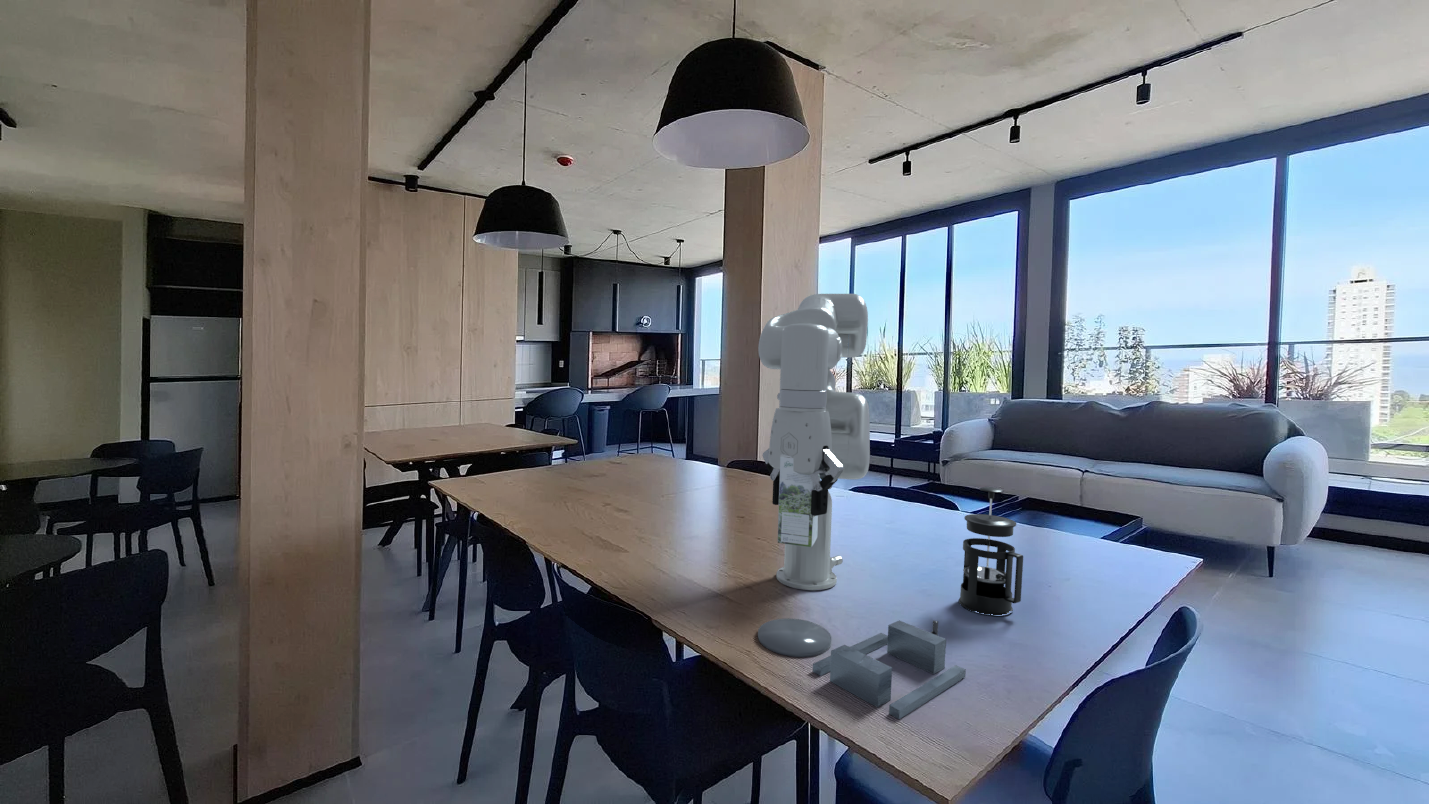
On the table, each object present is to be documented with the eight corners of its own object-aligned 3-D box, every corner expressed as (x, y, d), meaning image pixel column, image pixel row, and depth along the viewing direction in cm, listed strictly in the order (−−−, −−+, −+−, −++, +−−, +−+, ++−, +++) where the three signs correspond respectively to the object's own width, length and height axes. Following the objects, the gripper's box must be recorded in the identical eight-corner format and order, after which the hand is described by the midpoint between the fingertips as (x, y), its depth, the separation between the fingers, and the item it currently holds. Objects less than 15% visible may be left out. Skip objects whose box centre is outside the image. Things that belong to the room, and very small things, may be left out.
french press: (945, 600, 113) (951, 484, 112) (975, 592, 118) (981, 481, 117) (1002, 624, 103) (1009, 497, 102) (1031, 613, 108) (1039, 492, 107)
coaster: (792, 617, 104) (792, 612, 104) (846, 642, 94) (846, 637, 94) (742, 635, 96) (743, 630, 96) (796, 665, 87) (796, 659, 87)
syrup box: (817, 538, 96) (821, 452, 95) (812, 548, 90) (815, 456, 90) (784, 534, 98) (787, 449, 97) (776, 544, 92) (779, 454, 92)
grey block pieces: (896, 632, 98) (897, 605, 98) (979, 668, 87) (981, 637, 87) (812, 671, 85) (813, 640, 85) (899, 719, 74) (900, 684, 73)
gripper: (749, 398, 97) (745, 501, 98) (830, 405, 84) (825, 524, 85) (780, 398, 102) (776, 496, 103) (861, 404, 89) (857, 517, 90)
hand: (798, 508), depth 94 cm, fingers closed on syrup box, 7 cm apart
